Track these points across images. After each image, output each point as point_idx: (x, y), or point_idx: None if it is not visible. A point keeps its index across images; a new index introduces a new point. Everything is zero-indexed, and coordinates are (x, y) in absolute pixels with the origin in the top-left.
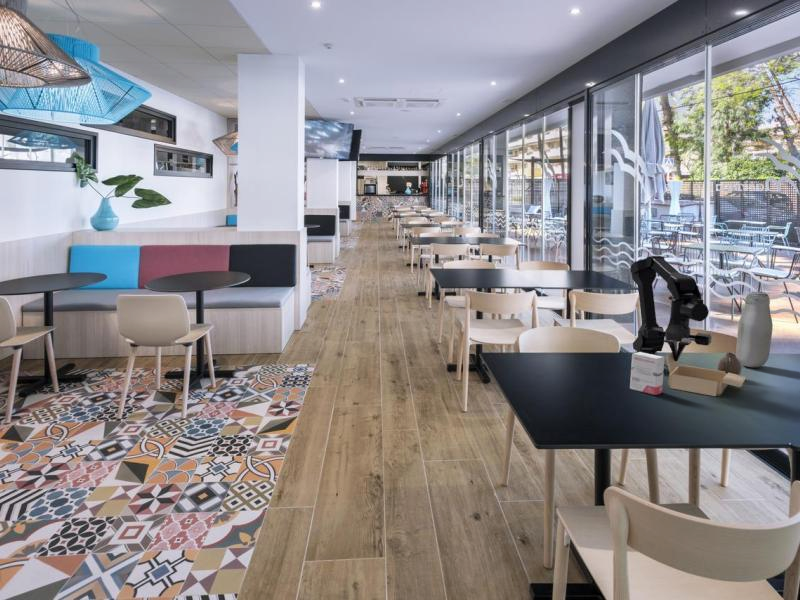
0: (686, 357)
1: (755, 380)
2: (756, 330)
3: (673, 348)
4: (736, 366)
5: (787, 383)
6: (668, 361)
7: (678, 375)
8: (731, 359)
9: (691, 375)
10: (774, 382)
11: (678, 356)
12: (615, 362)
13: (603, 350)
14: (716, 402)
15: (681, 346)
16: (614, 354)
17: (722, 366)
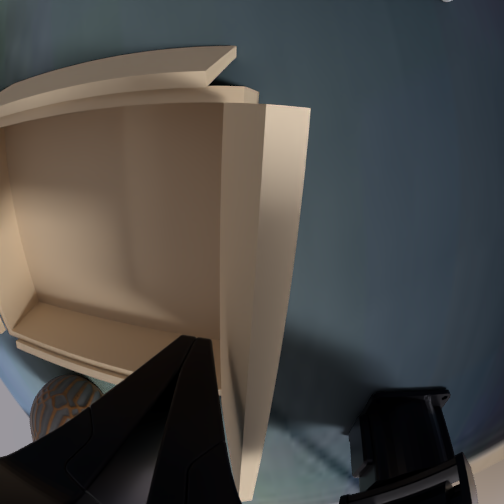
0: (259, 499)
1: (40, 384)
2: None
3: (178, 491)
4: (32, 406)
5: (3, 376)
6: (244, 115)
7: (145, 71)
8: (37, 435)
9: (161, 342)
10: (15, 377)
11: (140, 372)
12: (500, 395)
13: (483, 459)
14: (13, 9)
15: (6, 480)
16: (468, 453)
17: (68, 414)
